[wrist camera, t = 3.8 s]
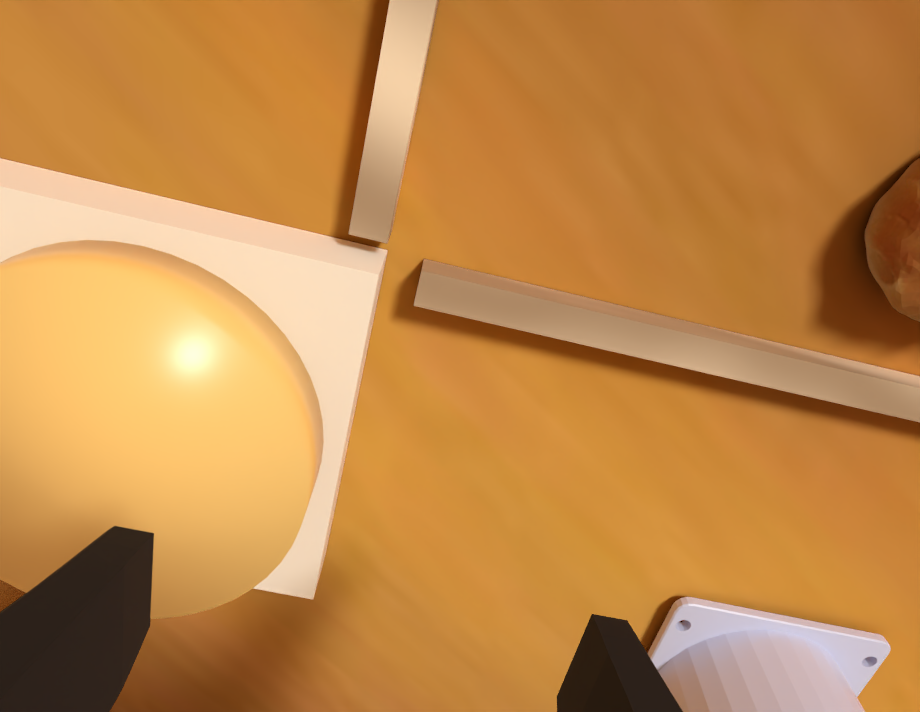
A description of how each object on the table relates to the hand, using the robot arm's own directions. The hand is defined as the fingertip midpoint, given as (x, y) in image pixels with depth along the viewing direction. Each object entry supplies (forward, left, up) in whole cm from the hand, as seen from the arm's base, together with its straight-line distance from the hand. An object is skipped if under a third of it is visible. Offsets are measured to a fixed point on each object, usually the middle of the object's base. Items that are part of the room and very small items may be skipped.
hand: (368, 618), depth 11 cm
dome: (-2, +7, -9) cm, 12 cm away
